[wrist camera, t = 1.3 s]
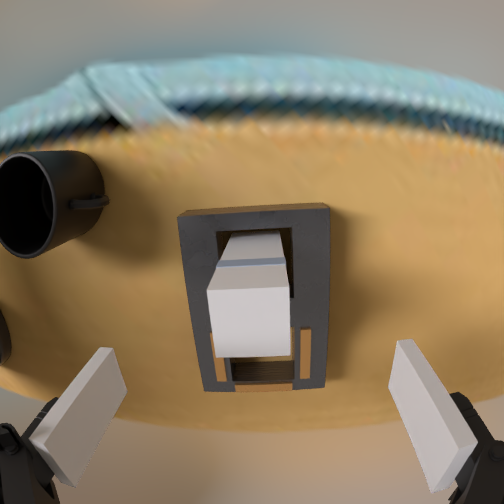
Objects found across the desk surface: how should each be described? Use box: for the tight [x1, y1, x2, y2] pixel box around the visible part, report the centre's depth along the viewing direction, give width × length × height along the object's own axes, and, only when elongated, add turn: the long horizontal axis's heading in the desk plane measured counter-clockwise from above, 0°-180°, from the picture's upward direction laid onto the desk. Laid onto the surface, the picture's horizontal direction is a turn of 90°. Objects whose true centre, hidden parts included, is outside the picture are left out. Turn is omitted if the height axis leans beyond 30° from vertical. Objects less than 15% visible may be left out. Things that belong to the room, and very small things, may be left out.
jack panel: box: [177, 203, 330, 392], centre depth 31 cm, size 13×19×4 cm
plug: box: [207, 230, 290, 358], centre depth 25 cm, size 5×5×14 cm
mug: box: [0, 150, 110, 259], centre depth 26 cm, size 9×12×9 cm
